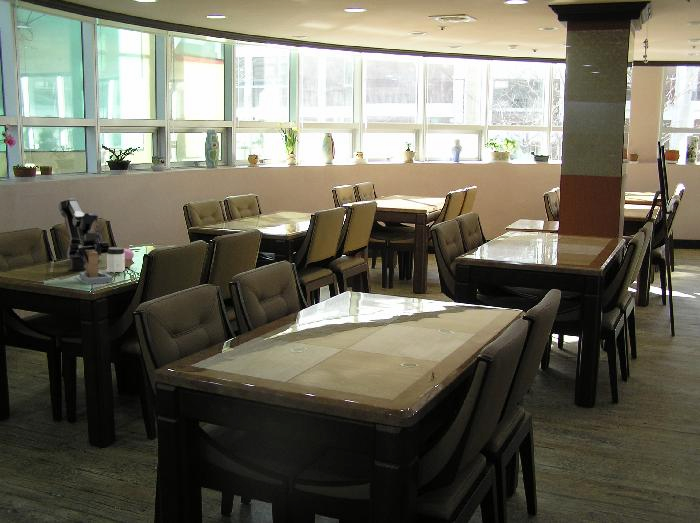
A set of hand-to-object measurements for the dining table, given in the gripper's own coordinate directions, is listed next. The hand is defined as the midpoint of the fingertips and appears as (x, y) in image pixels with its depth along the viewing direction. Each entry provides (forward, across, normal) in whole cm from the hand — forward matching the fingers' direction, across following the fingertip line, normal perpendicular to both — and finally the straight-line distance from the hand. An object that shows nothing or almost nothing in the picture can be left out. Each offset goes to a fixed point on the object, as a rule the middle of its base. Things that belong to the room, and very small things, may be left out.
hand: (92, 262), depth 376 cm
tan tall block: (+4, 0, +6) cm, 8 cm away
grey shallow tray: (+8, 0, +4) cm, 8 cm away
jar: (-5, +16, +16) cm, 24 cm away
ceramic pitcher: (-34, +12, +46) cm, 58 cm away
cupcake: (-12, +24, +23) cm, 35 cm away
